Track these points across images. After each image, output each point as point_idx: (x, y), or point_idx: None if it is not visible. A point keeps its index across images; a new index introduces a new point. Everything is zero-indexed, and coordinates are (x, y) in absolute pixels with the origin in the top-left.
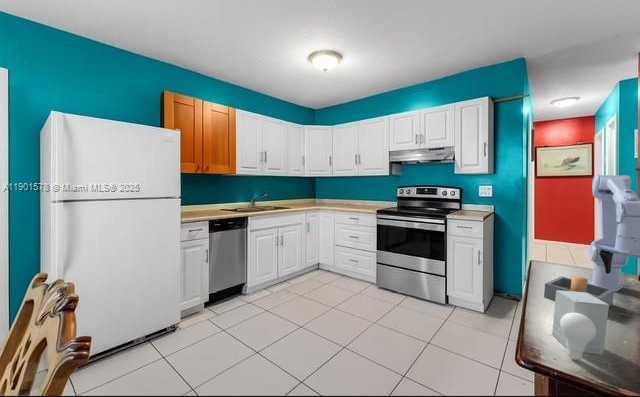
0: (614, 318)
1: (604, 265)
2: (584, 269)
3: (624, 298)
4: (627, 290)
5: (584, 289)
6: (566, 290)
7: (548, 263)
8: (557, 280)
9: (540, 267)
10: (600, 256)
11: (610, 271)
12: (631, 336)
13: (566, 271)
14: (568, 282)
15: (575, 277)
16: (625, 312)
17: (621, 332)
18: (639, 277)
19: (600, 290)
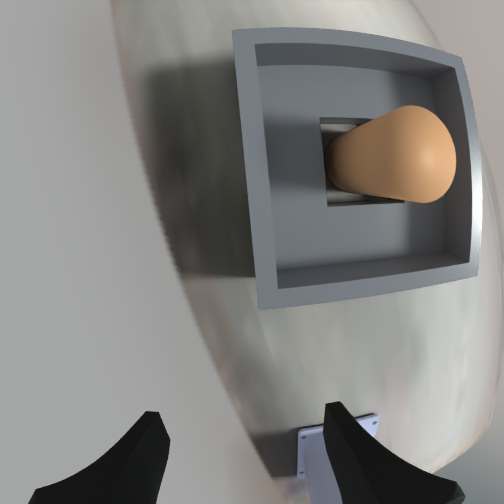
0: (186, 94)
1: (372, 436)
2: None
3: (259, 399)
4: (282, 466)
5: (354, 137)
6: (382, 38)
7: (461, 452)
8: (471, 168)
9: (483, 409)
10: (439, 477)
11: (324, 440)
12: (117, 9)
13: (429, 449)
14: (441, 259)
15: (439, 146)
16: (189, 224)
17: (140, 5)
18: (145, 426)
19: (313, 278)
